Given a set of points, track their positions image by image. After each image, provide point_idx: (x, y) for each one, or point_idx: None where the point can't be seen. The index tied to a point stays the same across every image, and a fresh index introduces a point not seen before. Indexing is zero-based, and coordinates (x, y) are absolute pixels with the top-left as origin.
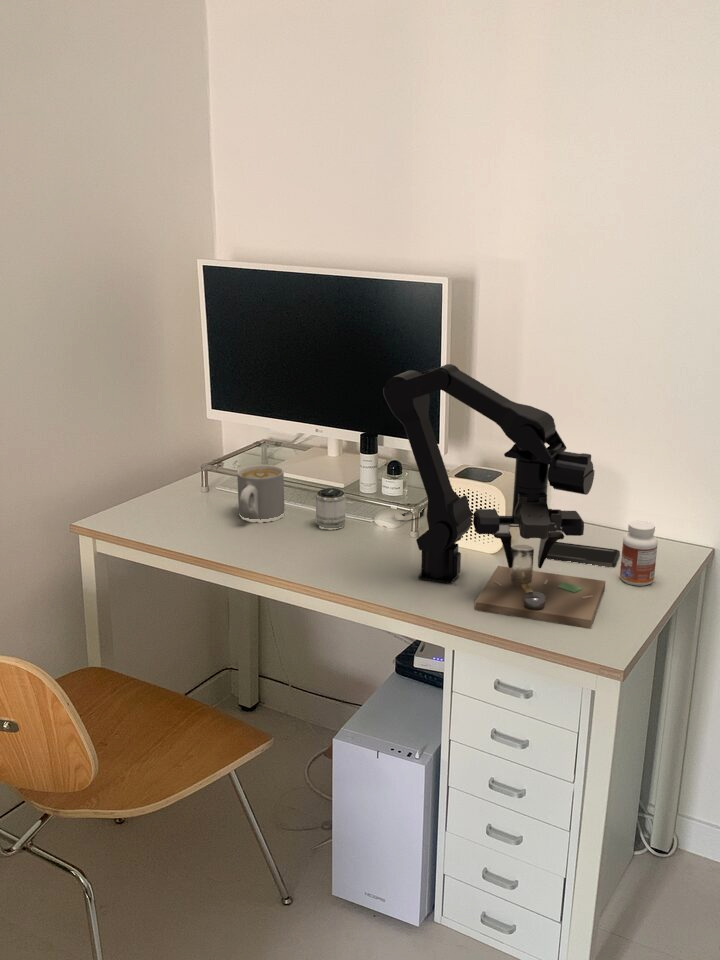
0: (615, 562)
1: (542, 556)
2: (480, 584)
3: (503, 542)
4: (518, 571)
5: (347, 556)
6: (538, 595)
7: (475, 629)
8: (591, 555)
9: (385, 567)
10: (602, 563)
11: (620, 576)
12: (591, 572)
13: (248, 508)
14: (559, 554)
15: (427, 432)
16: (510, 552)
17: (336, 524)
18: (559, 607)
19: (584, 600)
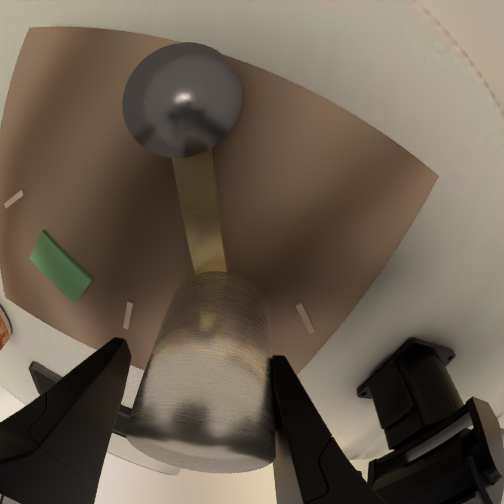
0: (29, 369)
1: (82, 382)
2: (335, 341)
3: (370, 501)
4: (237, 322)
5: (476, 396)
6: (156, 109)
7: (440, 33)
8: None
9: (463, 380)
10: (45, 373)
11: (4, 321)
12: (56, 356)
13: (501, 432)
14: (122, 417)
15: None
16: (295, 436)
17: None
18: (90, 98)
19: (20, 175)
